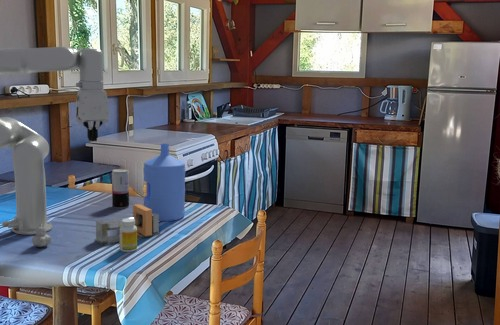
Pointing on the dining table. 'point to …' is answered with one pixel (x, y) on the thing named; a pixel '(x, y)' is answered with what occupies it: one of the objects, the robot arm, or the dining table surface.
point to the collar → (144, 219)
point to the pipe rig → (105, 226)
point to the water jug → (165, 185)
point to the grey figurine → (41, 237)
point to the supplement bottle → (128, 235)
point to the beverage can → (120, 188)
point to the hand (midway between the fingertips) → (92, 140)
